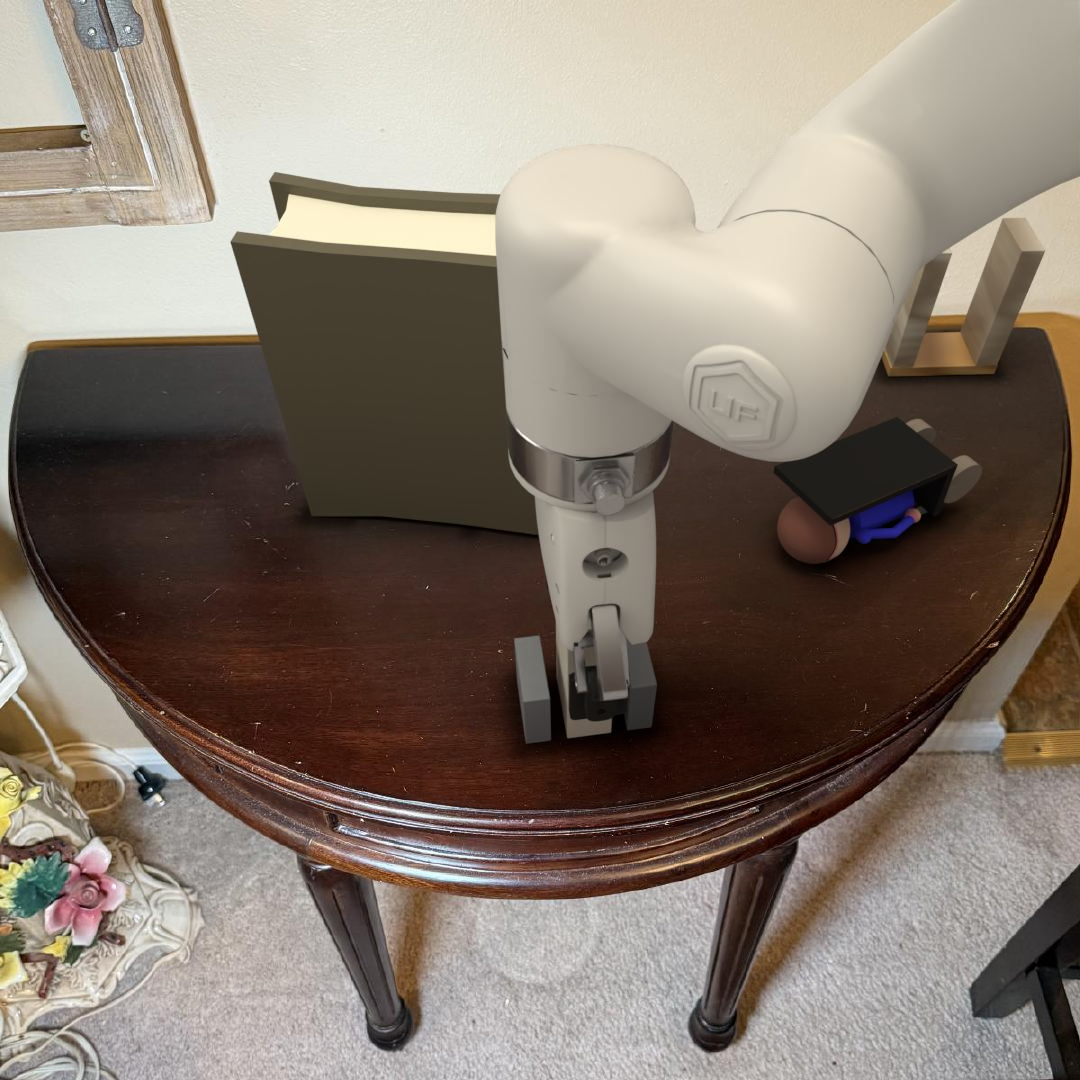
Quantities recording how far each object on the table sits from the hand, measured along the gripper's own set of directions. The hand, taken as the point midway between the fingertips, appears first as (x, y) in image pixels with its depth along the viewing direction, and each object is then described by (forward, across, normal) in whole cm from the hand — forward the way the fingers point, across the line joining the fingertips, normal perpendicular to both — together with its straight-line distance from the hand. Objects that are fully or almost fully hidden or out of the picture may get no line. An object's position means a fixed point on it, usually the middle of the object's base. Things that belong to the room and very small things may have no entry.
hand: (584, 645), depth 58 cm
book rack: (+7, +30, -36) cm, 47 cm away
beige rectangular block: (+7, 0, 0) cm, 7 cm away
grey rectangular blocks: (+7, 0, 0) cm, 7 cm away
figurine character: (+7, +12, -23) cm, 27 cm away
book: (+7, +20, +8) cm, 23 cm away
